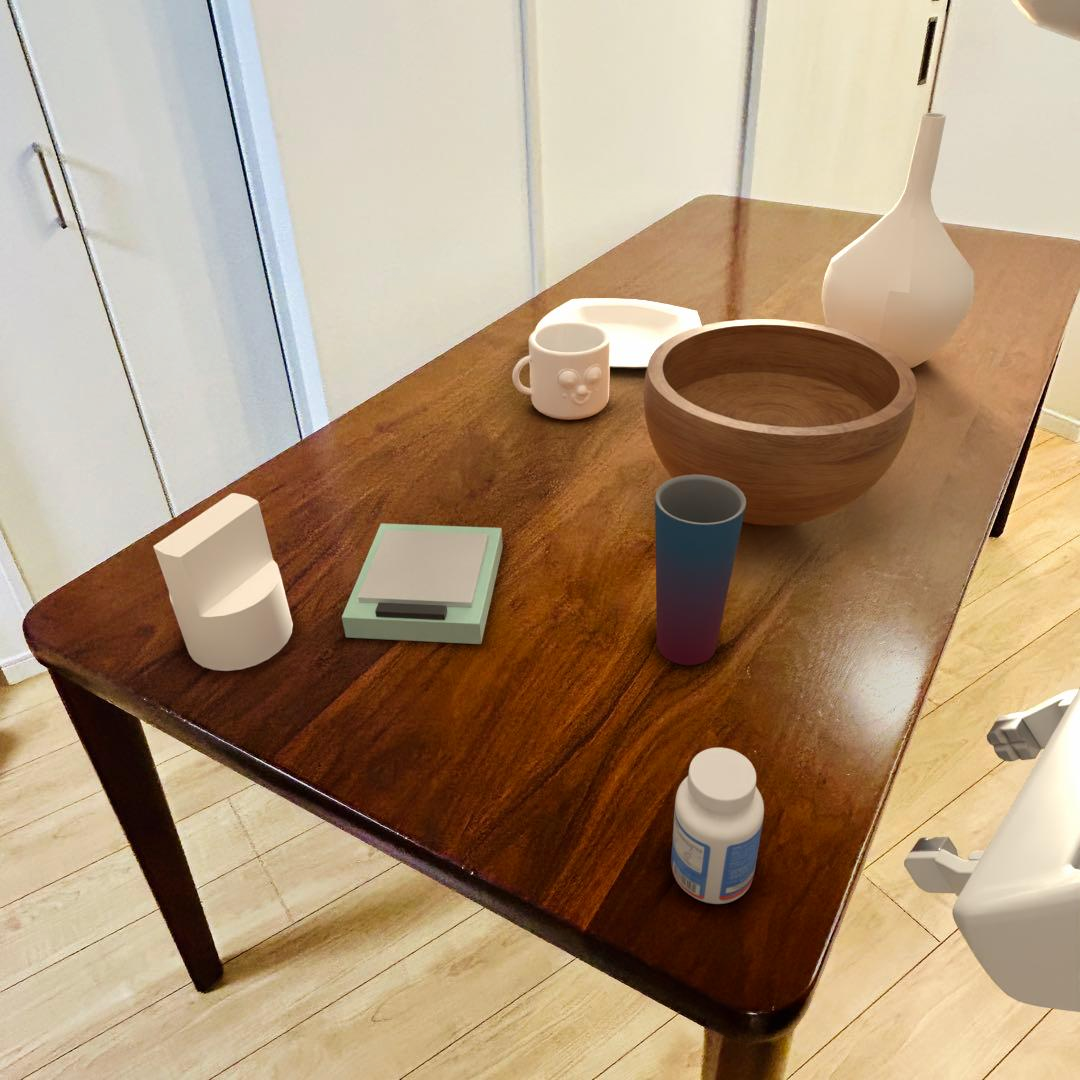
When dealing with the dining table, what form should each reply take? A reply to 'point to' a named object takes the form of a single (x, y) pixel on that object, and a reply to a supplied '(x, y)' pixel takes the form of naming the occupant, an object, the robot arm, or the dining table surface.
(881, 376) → the bowl
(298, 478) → the dining table surface
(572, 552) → the dining table surface
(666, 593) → the cup
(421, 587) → the scale
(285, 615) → the base with upright slab
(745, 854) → the pill bottle
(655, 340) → the plate
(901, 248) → the vase
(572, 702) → the dining table surface
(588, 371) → the mug
